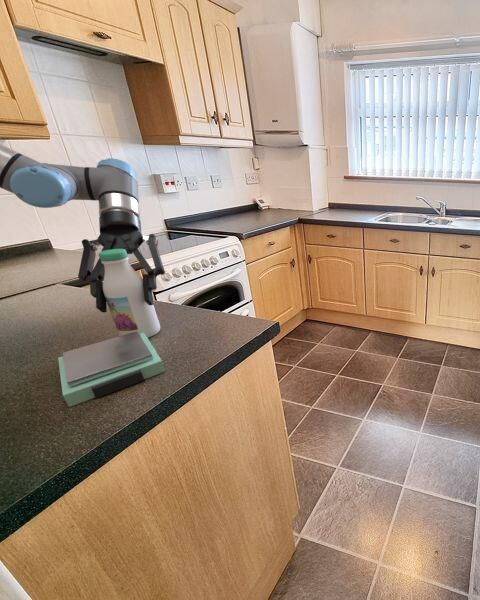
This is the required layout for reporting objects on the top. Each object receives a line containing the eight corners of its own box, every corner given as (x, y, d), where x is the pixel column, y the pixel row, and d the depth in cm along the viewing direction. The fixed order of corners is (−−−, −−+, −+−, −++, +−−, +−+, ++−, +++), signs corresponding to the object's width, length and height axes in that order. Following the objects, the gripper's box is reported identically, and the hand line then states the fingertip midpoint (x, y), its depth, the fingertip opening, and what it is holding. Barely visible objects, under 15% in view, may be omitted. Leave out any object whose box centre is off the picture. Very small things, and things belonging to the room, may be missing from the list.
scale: (63, 368, 67) (57, 357, 66) (147, 341, 76) (143, 332, 75) (69, 409, 56) (63, 397, 55) (166, 373, 65) (162, 362, 64)
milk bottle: (153, 323, 84) (126, 244, 76) (167, 331, 80) (140, 249, 72) (115, 335, 78) (82, 252, 70) (128, 346, 74) (95, 258, 66)
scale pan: (64, 357, 65) (62, 352, 65) (139, 334, 73) (137, 330, 72) (69, 387, 57) (67, 382, 56) (153, 358, 64) (151, 354, 64)
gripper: (175, 224, 87) (185, 304, 80) (73, 231, 79) (74, 321, 72) (166, 205, 80) (176, 291, 73) (54, 211, 72) (53, 308, 65)
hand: (125, 306), depth 72 cm, fingers closed on milk bottle, 8 cm apart
